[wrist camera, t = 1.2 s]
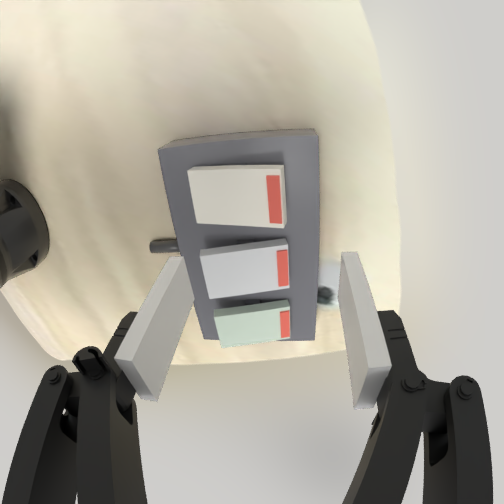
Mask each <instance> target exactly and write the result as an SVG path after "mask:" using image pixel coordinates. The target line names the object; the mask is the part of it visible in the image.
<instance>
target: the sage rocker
mask: <svg viewBox="0 0 504 504" xmlns="http://www.w3.org/2000/svg"><path fill="white" fill-rule="evenodd" d="M214 320H215V324H216V328H217V332H218V336H219V340H220V344H221V348H226V347H234V346H242V345H249V344H256V343H263V342H270V341H276V340H283V339H289V338H290V305H289V302H288V299H287V300H280V301H274V302H267V303H260V304H253V305H246V306H238V307H231V308H223V309H215V310H214Z"/></svg>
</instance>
